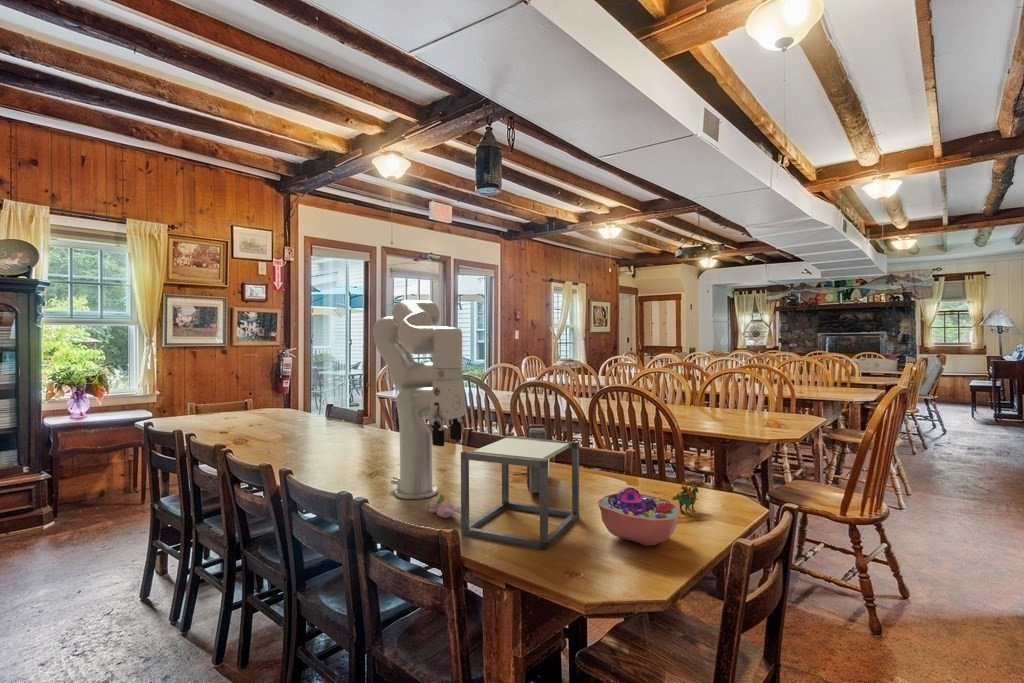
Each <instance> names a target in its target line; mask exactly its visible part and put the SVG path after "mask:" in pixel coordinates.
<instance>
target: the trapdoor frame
mask: <svg viewBox="0 0 1024 683" xmlns="http://www.w3.org/2000/svg"><path fill="white" fill-rule="evenodd" d="M504 438H518V439H529V440H540V441H551V442H563V443H569V448H568V449H571V510H568V509H560V508H554V507H549V459H548V460H541V459H531V458H522V457H512V456H503V455H493V454H484V453H474V452H472V451H464V450H463V451H461V452H460V508H461V514H460V532H461V533H460V534H461V536H466V537H472V538H478V539H483V540H487V539H488V540H489V541H493V540H494V541H495V542H498V543H504V544H509V545H515V546H519V547H526V548H530V549H536V550H541V551H547V550H548V549H549V548H550V547H551V546H552V545H554V543H555V542H556V541H557V540H558V539H559V538H560V537H561V536H562V535H564V533H566V531H567V530H568V529H570V527H571V526H572V525H573V524H575V522H576V521H578V519H580V458H579V457H580V452H579V451H580V446H579V445H580V443H579V441H568V440H557V439H548V440H546V439H535V438H527V437H522V436H521V437H520V436H513V435H511V436H510V435H503V436H501V440H502V439H504ZM470 461H476V462H477V461H478V462H483V463H484V462H486V463H493V464H494V463H495V464H501V502H500V503H498V504H497V505H496V506H494V507H492V508H491V509H489V510H488V511H486V512H485V513H483V514H481V515H480V516H478V517H477V518H474V520H472V521H470ZM509 465H511V466H512V465H513V466H519V467H521V466H522V467H527V466H528V467H537V468H540V492H539V505H535V504H527V503H520V502H515V501H510V499H509V498H510V496H509V494H510V480H509V479H510V476H509V472H510V471H509V469H510V466H509ZM505 510H513V511H521V512H527V513H534V514H539V539H537V538H530V537H525V536H520V535H516V534H508V533H505V532H504V533H503V532H499V531H492V530H491V531H490V530H486V529H480V527H481V526H483V525H485V524H486V523H487V522H489V521H490V520H492V519H493V518H495V517H496V516H498V515H499V514H501V513H502V512H504V511H505ZM549 516H553V517H559V518H564V520H562V522H560V524H558V525H557V526H556V527H555V528H554V529H553V530H551V532H550V533H549Z"/></svg>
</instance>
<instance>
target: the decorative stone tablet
mask: <svg viewBox="0 0 1024 683" xmlns="http://www.w3.org/2000/svg"><path fill="white" fill-rule="evenodd" d="M548 437H549V436H548V428H547V427H546V426H545V425H544V424H532V423H531V424H530V423H529V425H528V426H527V427H526V438H535V439H546V440H549V438H548ZM526 485H527V488H528V490H529V492H530V493H540V468H537V467H528V466H526Z"/></svg>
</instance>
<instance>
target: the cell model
mask: <svg viewBox="0 0 1024 683" xmlns="http://www.w3.org/2000/svg"><path fill="white" fill-rule="evenodd" d="M597 505H598V507H599V509H600V516H601V521H602V522H603V524H604V526H605V528H606V529H607V530H608V532H609V533H610V534H611V535H612V536H615V537H617V538H619V539H622V540H626V541H633V542H636V543H639V544H641V545H643V546H647V547H649V546H654V545H658V544H660V543H663V542H665V541H667V540H669V539H670V537H672V535H673V534H674V532H675V530H676V528H677V525H678V521H679V513H680V506H678V505H676V504H675V503H674V501H673V500H672V501H671V500H669V499H666V498H661V497H657V496H654V495H649V494H645V493H640V492H639V490H637V489H635V488H634V487H624V488H622V489H620V491H619V492H617V493H613V494H607V495H604V496H603V497H602V498H600V499H598V500H597Z"/></svg>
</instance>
